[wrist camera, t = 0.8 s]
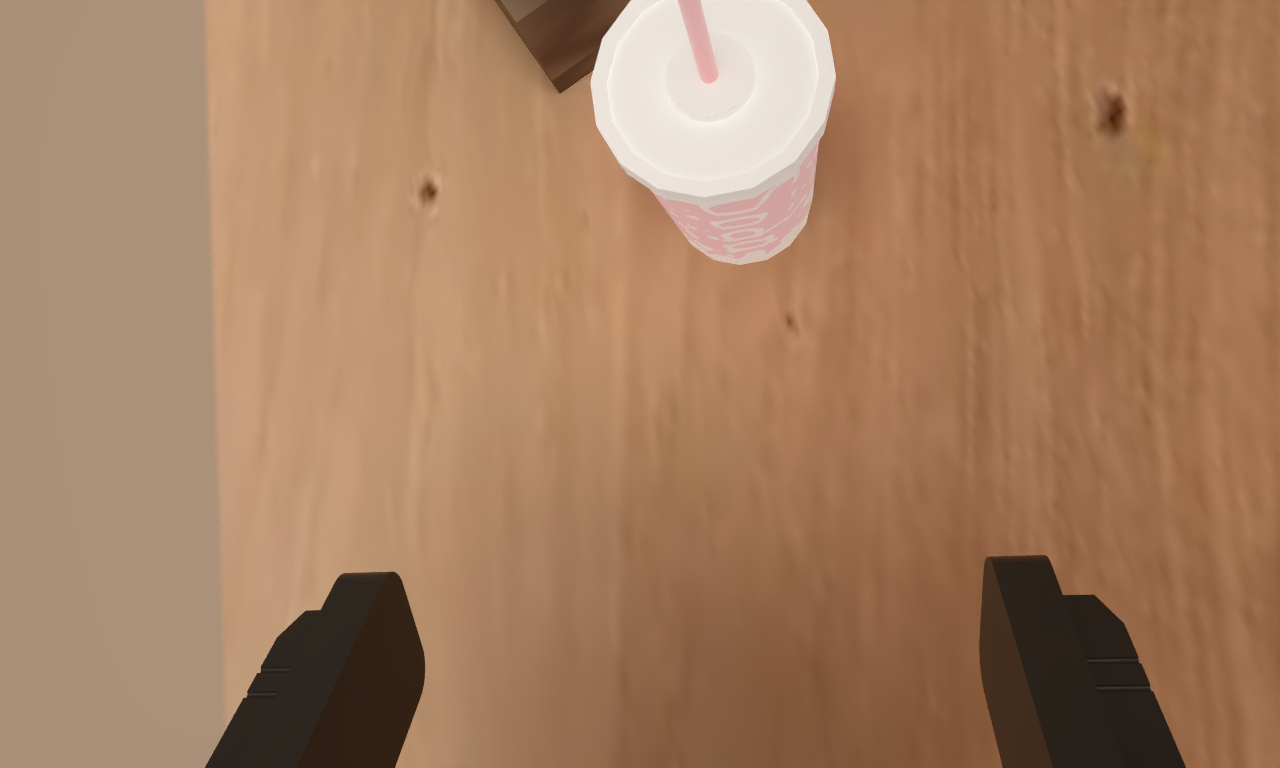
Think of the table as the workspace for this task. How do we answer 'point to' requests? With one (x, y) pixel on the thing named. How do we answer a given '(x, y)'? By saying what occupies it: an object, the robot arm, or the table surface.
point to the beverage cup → (719, 115)
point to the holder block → (563, 33)
